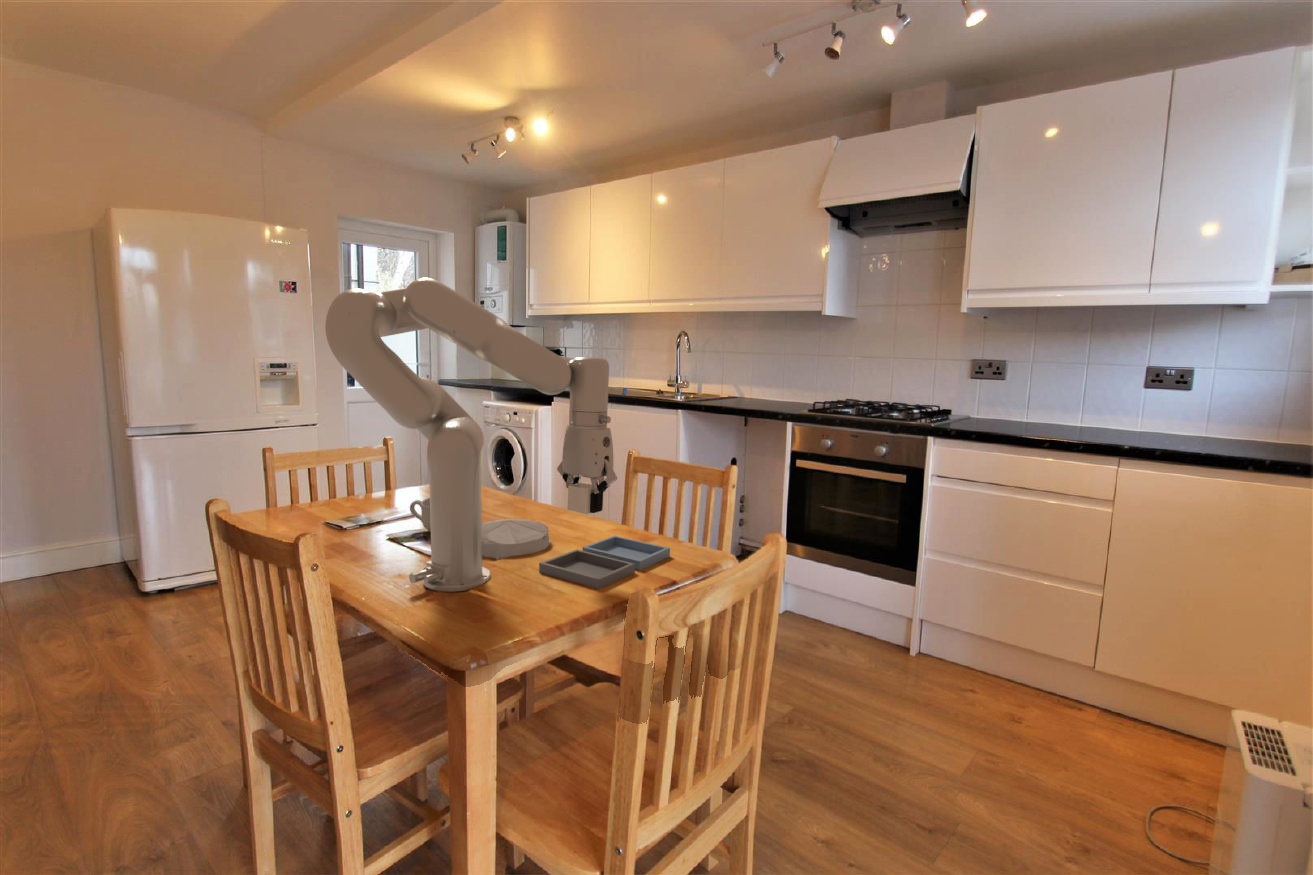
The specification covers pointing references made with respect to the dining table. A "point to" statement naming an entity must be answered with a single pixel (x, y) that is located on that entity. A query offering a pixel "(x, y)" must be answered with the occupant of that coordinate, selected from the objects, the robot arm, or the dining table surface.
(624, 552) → the slate-blue bin
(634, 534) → the dining table surface
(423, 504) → the teacup
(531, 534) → the food container
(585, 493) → the stone block
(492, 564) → the dining table surface
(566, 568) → the charcoal bin
